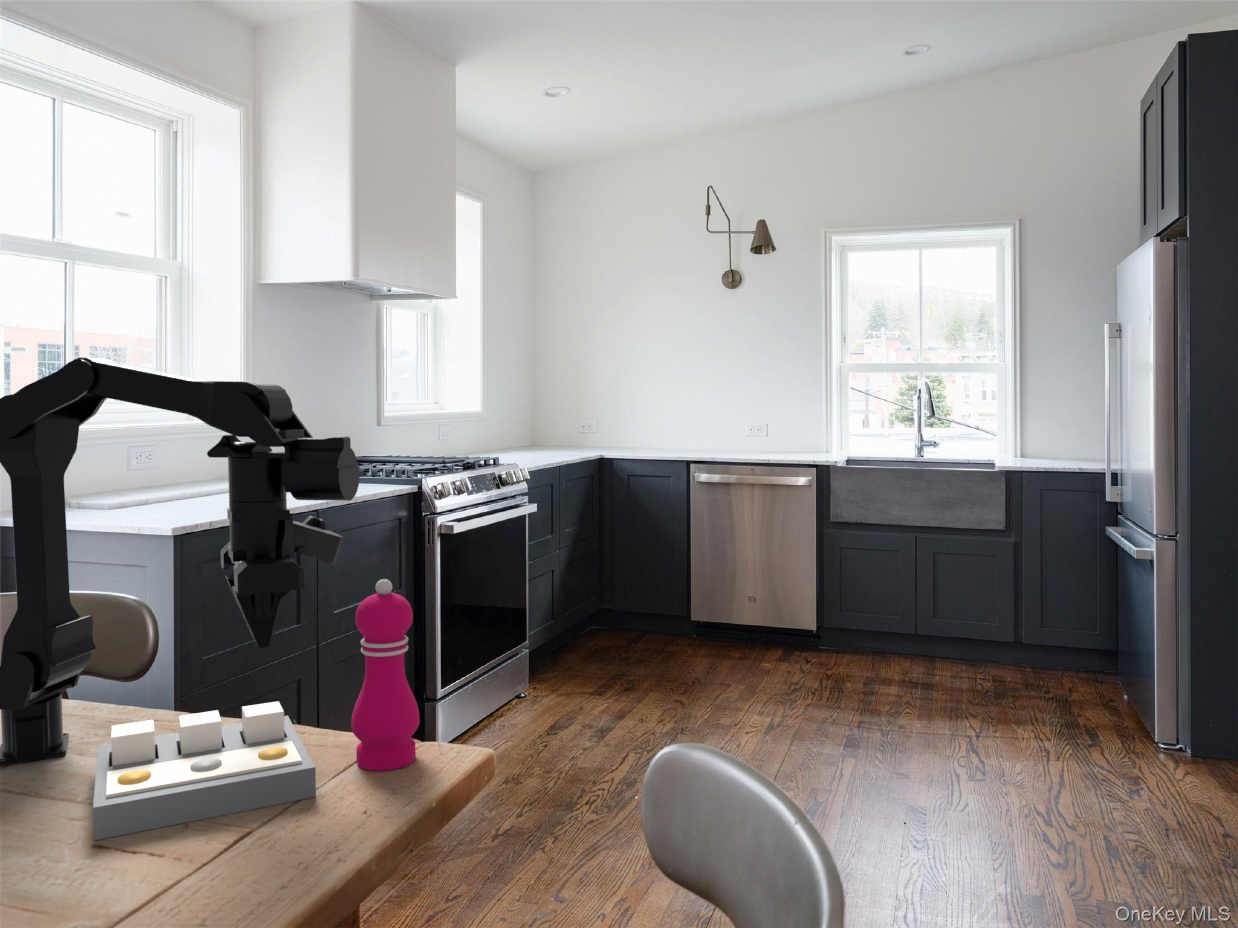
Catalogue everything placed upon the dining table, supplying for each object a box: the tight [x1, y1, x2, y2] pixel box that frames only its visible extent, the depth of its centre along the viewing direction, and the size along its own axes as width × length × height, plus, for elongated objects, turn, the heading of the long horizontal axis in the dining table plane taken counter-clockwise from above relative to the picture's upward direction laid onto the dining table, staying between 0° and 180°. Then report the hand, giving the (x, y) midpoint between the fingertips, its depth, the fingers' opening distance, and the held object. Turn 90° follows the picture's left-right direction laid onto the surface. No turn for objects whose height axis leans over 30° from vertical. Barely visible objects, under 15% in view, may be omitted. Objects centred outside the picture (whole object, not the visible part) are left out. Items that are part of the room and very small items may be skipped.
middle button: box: [178, 709, 222, 755], centre depth 95 cm, size 4×4×3 cm
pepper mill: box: [350, 578, 421, 772], centre depth 98 cm, size 7×7×20 cm
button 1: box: [110, 719, 156, 766], centre depth 92 cm, size 4×4×3 cm
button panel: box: [92, 715, 317, 842], centre depth 92 cm, size 17×19×4 cm
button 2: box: [241, 701, 285, 744], centre depth 98 cm, size 4×4×3 cm
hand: (261, 643), depth 97 cm, fingers open, 3 cm apart
